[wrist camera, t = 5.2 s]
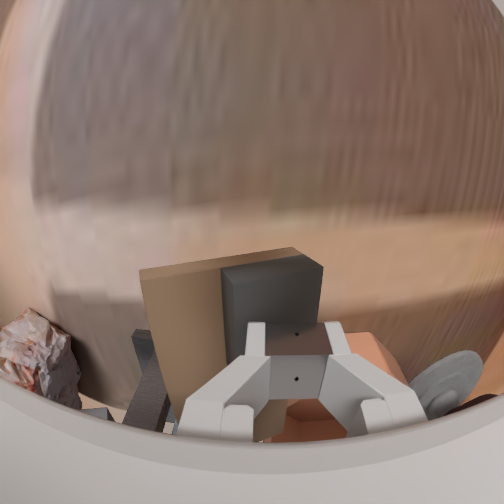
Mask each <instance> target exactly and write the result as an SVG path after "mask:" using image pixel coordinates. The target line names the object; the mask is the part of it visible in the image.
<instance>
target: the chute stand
mask: <svg viewBox="0 0 504 504" xmlns="http://www.w3.org/2000/svg"><path fill="white" fill-rule="evenodd" d="M132 341H133V344H134V348H135V351H136V354H137V357H138V360H139V363H140V366H141V369H142V372H143V376H142V378H141V381H140V383H139V385H138V387H137V390H136V392H135V394H134V396H133V399H132V401H131V403H130V406H129V408H128V410H127V413H126V415H125V417H124V420H123V422H122V424H125V425H129V426H133V427H137V428H141V429H146V430H151V431H156V432H161V433H162V432H163V428H164V425H165V422H171V423H174V427H173V431H172V435H176V433H177V430H178V426H179V425H178V422H177V420H176V417H175V414H174V411H173V408H172V405H171V402H170V399H169V396H168V393H167V389H166V386H165V383H164V380H163V376H162V373H161V369H160V366H159V362H158V358H157V355H156V351H155V347H154V343H153V339H152V335H151V331H148V330H139V329H136V330H135V332H134V333H133V335H132Z"/></svg>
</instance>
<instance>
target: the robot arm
mask: <svg viewBox="0 0 504 504" xmlns="http://www.w3.org/2000/svg"><path fill="white" fill-rule="evenodd" d="M313 398H318V400H319V401H320V402H321V403H322V404H323V405H324V406H325V408H326V409H327V410H328V411H329V412H330V413H331V414H332V415H333V416H334V417H335V418H336V419H337V420H338V422H339V423H340V424H341V425H342V426H343V427H344V428H345V429H346V430H347V431H348V433H347V435H346V437H345V438H341V439H332V440H322V441H308V442H284V443H259V442H253V425H254V419H255V418H256V416H257V415H258V414H259V413H260V411H261V410H262V409H263V407H264V406H265V405H266V403H267V402H268V400H273V399H313ZM0 504H504V393H502V394H500V395H498V396H496V397H493V398H491V399H489V400H486V401H484V402H482V403H479V404H477V405H474V406H472V407H469V408H466V409H464V410H461V411H458V412H455V413H452V414H449V415H446V416H443V417H440V418H437V419H434V420H430V421H428V419H427V417H426V415H425V412H424V410H423V408H422V406H421V404H420V402H419V400H418V397H417V395H416V393H415V391H414V390H412V389H411V388H409V387H408V386H406V385H404V384H403V383H401V382H400V381H398V380H397V379H395V378H394V377H392V376H390V375H389V374H387V373H386V372H384V371H383V370H381V369H380V368H378V367H377V366H375V365H374V364H372V363H371V362H369V361H368V360H366V359H365V358H363V357H361V356H360V355H358V354H357V353H352V352H351V349H350V347H349V344H348V342H347V339H346V336H345V334H344V331H343V329H342V326H341V324H340V322H339V321H333V322H321V323H278V322H249V323H248V328H247V338H246V348H245V355H240V356H239V357H237V358H236V359H235V360H234V361H233V362H232V363H230V364H229V365H228V366H227V367H226V368H224V369H223V370H222V371H221V372H220V373H218V374H217V375H216V376H215V377H213V378H212V379H211V380H210V381H208V382H207V383H206V384H205V385H203V386H202V387H201V388H200V389H198V390H197V391H196V392H195V393H193V394H192V395H191V396H190V397H188V398H187V399H186V402H185V405H184V409H183V412H182V416H181V419H180V423H179V426H178V430H177V433H176V435H172V434H166V433H161V432H156V431H151V430H146V429H141V428H137V427H133V426H129V425H125V424H121V423H117V422H113V421H110V420H106V419H103V418H99V417H96V416H93V415H90V414H87V413H84V412H81V411H78V410H75V409H72V408H70V407H67V406H64V405H62V404H59V403H57V402H54V401H52V400H49V399H47V398H45V397H42V396H40V395H38V394H35V393H33V392H31V391H29V390H27V389H25V388H23V387H21V386H19V385H17V384H15V383H13V382H11V381H9V380H7V379H5V378H3V377H1V376H0Z"/></svg>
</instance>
